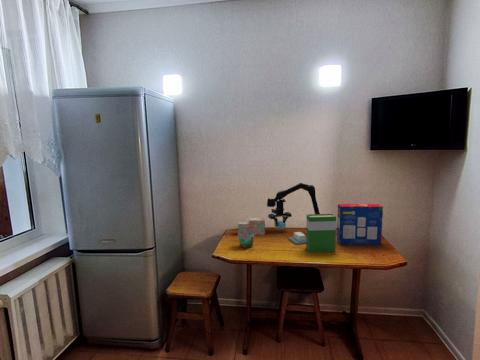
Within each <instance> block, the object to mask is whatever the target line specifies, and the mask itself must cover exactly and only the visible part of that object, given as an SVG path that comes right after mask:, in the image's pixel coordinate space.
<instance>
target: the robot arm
mask: <svg viewBox="0 0 480 360" xmlns="http://www.w3.org/2000/svg"><path fill="white" fill-rule="evenodd" d="M300 189H301V190H303V191H306V192H308V194H309V197H310V200H311V203H312V208H313V212H314V214H321V213H320V210H319V205H318V202H317V197H316V187H315V186H314V185H313V184H310V185H309V184H306V183H303V182H299V183H297V184H296V185H293V186H291V187H289V188H287V189H285V190H284V189H283V190H279V191H277V193H276V195H275V197H274V198H267V203H266V206H267V208H271V213H269V214H268V216H267V217H268V218H269V219H270V220H273V221H274V222H275V224H276V226H277V224H278V221H279V220H278V218H279V217H282V222H284V223H286V221H287V220H288V219H289V218H291V217H293V216H292V215H293V214H292V213H291V212H289V211H285V212H284V210H285V208H284V203H286V202H287V201H286V199H285V197H287V196H288V195H290V194H292V193H294V192H296V191H298V190H300Z"/></svg>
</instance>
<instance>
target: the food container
mask: <svg viewBox="0 0 480 360" xmlns="http://www.w3.org/2000/svg"><path fill="white" fill-rule="evenodd" d="M237 237H238V241H239V247H240V248H241V249H243V250H246V249H247V250H248V249H251V248H253V245H254V238H255V235H254V233H253V234H247V233H239V231H238V232H237Z"/></svg>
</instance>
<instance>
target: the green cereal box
mask: <svg viewBox="0 0 480 360" xmlns="http://www.w3.org/2000/svg"><path fill="white" fill-rule="evenodd" d="M305 230H306V232H305V237H306V243H305V245H306V246H305V247H306V250H307V251H308V252H309V253H323V252H325V253H327V252H330V253H332V252H336V243H337V242H336V241H337V216H335V215H333V213H320V214H315V213H313V214H306V229H305Z"/></svg>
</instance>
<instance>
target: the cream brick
mask: <svg viewBox="0 0 480 360" xmlns="http://www.w3.org/2000/svg"><path fill="white" fill-rule="evenodd" d="M293 237H294V238H295V239H297V240H298V241H304V240H305V237H306V234H304V233H303V232H301V231H295V232H293Z"/></svg>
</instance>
